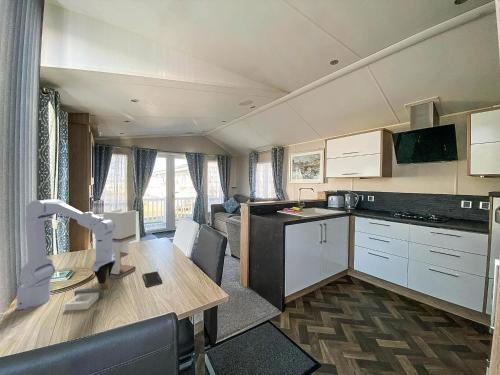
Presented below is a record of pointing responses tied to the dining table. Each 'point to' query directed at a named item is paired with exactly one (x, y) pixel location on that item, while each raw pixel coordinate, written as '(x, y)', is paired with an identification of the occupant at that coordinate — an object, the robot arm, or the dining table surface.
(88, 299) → the holed block
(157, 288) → the dining table surface
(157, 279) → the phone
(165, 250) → the dining table surface
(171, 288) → the dining table surface
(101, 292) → the base board
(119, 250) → the white tower
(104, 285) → the dowel
